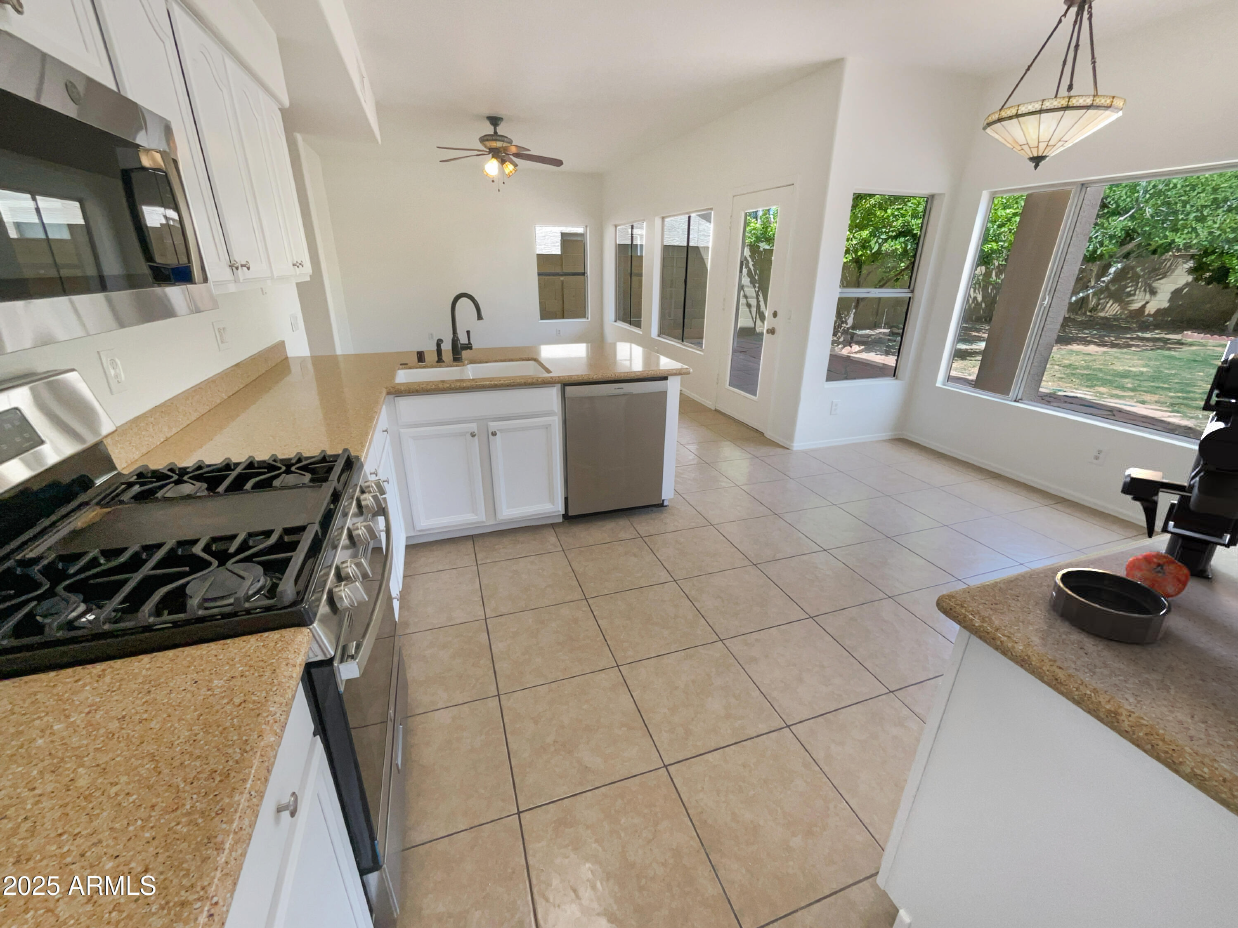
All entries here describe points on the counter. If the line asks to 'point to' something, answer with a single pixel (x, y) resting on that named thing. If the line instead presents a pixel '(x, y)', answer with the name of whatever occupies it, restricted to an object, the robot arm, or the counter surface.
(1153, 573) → the tomato
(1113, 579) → the dark shallow dish
